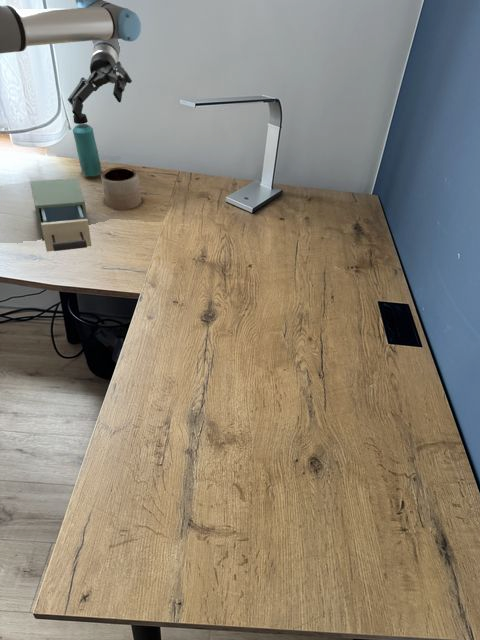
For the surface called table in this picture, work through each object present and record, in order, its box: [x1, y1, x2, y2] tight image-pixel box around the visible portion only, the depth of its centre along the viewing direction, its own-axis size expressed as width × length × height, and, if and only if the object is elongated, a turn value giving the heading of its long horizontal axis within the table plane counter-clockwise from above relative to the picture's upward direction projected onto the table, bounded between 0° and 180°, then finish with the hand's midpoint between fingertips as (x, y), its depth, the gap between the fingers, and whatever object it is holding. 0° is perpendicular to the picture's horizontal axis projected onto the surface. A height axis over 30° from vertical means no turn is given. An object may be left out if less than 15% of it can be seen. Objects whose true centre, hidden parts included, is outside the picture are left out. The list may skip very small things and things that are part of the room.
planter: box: [100, 166, 142, 210], centre depth 155 cm, size 11×11×10 cm
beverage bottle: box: [72, 113, 102, 177], centre depth 163 cm, size 6×7×20 cm
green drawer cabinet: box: [29, 177, 88, 242], centre depth 142 cm, size 15×13×11 cm
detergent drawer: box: [41, 205, 92, 253], centre depth 134 cm, size 20×11×9 cm, turn 23°
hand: (96, 106), depth 141 cm, fingers open, 13 cm apart
